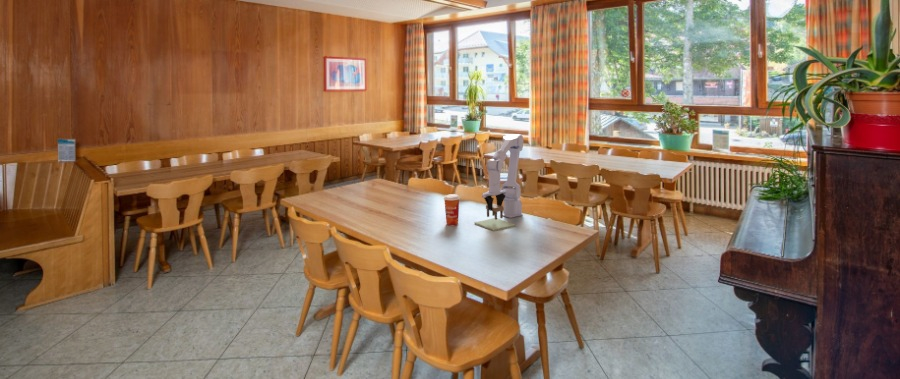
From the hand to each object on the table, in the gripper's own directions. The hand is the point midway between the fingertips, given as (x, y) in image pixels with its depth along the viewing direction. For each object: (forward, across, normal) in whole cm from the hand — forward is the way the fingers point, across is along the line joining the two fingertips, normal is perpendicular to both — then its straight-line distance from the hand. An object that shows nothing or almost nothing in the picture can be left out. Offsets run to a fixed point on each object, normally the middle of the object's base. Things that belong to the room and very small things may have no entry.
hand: (494, 209), depth 243 cm
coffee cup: (+8, +16, -15) cm, 24 cm away
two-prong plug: (+4, 0, 0) cm, 4 cm away
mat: (+8, 0, 0) cm, 8 cm away
